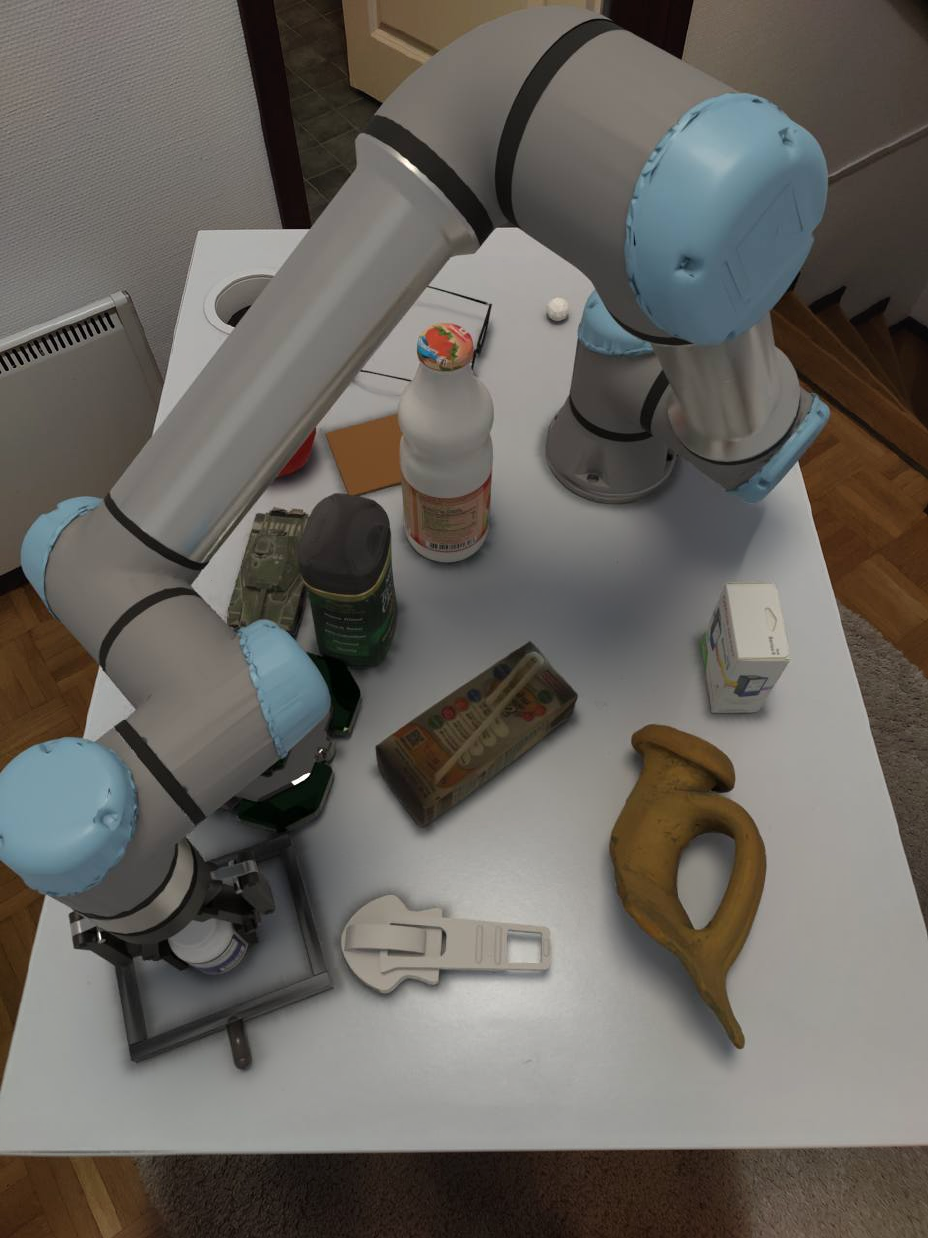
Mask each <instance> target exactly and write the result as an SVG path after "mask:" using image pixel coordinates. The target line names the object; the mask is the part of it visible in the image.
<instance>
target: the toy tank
mask: <svg viewBox="0 0 928 1238" xmlns="http://www.w3.org/2000/svg"><path fill="white" fill-rule="evenodd" d="M309 516H310V514H309V513H307V512H306V511H304V509H300V508H291V510H289V511H288V509H285V508H281V507H276V506H273V508H271V510H269V511H268V512H267V511H266V512H265V513H263V512H257V513H255V516H254V519H253V523H252V526H251V529H250V534H249V536H248V540H247V544H246V547H245V551H244V553H243V558H242V560H241V563H240V566H239V570H238V574H237V577H236V580H235V584H234V587H233V590H232V593H231V597H230V600H229V604H228V607H227V610H226V613H227V615H226V623H227V624H228V625H229V626H230V627H231V628H232V629H233V628H234V629H240V628H242V627H244V628H245V627H247V626H249V625H250V624H252V623H254V622H256V621H258V620H264V619H266V620H270V621H272V622H274V623H276V624H277V625H278V626H279V627H280V629H283V630H285V631H286V632H288V633H289V634H293V635H294V634H296V633H297V630H298V628H299V627H300V624H301V621H302V618H303V614H304V610H305V605H306V602H307V601H306V600H307V597H308V590H307V586H306V585H305V584H304V582H303V580H302V578H301V575H300V571H299V563H298V545H299V542H300V540H301V537H302V534H303V531H304V528H305V526H306V523H307V520H308V517H309Z"/></svg>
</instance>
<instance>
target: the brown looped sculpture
mask: <svg viewBox="0 0 928 1238" xmlns="http://www.w3.org/2000/svg"><path fill="white" fill-rule="evenodd" d="M630 739H631V740H630V743H631V744H630V745H631V747H632V748H633V749H634V752H636V753H637V754H638V755H639V756H640V757H641V758H643V761H642V768H641V771H640V774H639V777H638V779H637V780H636V783H635V784H634V787H633V788H632V790H631V792H630V793H629V795H628V797H626V799H625V804H624V806H623V807H622V809H621V811H620V813H619V816H618V817H617V819H616V821H615V822H614V825H613V827H612V829H611V833H610V837H609V843H608V844H609V845H608V851H609V855H610V860H611V863H612V866H613V878H614V883H615V891H616V895H617V897H618V898H619V901H620V902H621V905H622V908H623V910H624V911H625V913H627V915H629V917H630V918H631V919H633V920H634V922H635V923H636V925H637V926H638V928H640V929H641V930H642V931H643V932H644V933H645V934H646V935H648V936H649V937H650V938H652V939H653V940H655V941H656V942H657V943H658V944H660V945H661V946H662V947H663V948H665V949H667V950H668V951H669V952H670V953H671V954H672V955H673V956H675V957H677V958H678V960H679V961H680V963H681V964H682V966H683V967H684V969H685V970H686V972H687V973H688V974H689V976H690V978H691V980H692V982H693V984H694V986H695V988H696V990H697V992H698V995H700V997H701V1000H703V1002H704V1004H705V1005H706V1006H707V1007H708V1008H709V1009H710V1010H711V1012H712V1013H713V1014H714V1015H715V1017H716V1018H717V1020H718V1022H719V1023H720V1024H721V1026H722V1028H723V1029H724V1032H725V1033H726V1035H727V1037H728V1039H729V1040H730V1041H731V1043H732V1044H733V1046H734V1047H735V1048H736V1049H737V1050H742V1049H744V1047H745V1045H746V1038H745V1035H744V1033H743V1030H742V1027H741V1025H740V1024H739V1022H738V1020H737V1018H736V1015H735V1014H734V1011H733V1009H732V1006H731V1002H730V1000H729V996H728V992H727V975H728V972H729V971H730V969H731V968H732V967H733V965H734V964H735V962H736V961H737V959H738V957H739V956H740V955H741V953H742V950H743V948H744V947H745V944H746V942H747V939H748V937H749V935H750V932H751V930H752V927H753V925H754V921H755V919H756V917H757V913H758V910H759V907H760V904H761V900H762V896H763V893H764V888H765V882H766V876H767V869H768V868H767V867H768V866H767V865H768V864H767V853H766V846H765V842H764V839H763V837H762V835H761V833H760V830H759V827H758V826H757V824H756V822H755V820H754V818H753V817H752V816H751V815H750V813H749V812H748V811H747V810H746V809H745V808H744V807H743V806H742V805H741V804H740V803H737V802H736V801H735V800H733V799H730V798H729V797H726V796H724V795H719V794H726V793H731V791H733V790H734V789H735V785H736V771H735V767H734V764H733V761H732V760H731V758H729V756H728V755H727V754H726V753H725V752H724V751H723V750H721V749H720V748H719V747H717V746H716V745H714V744H712V743H711V742H709V741H708V740H705V739H703V738H702V737H699V736H697V735H695V734H691V733H688V732H687V731H683V730H679V729H677V728H675V727H673V726H670V725H665V724H657V723H651V724H647V725H644V726H643V727H642V728H640V729H638V730H636V731H634V732H633V733H632V735H631V738H630ZM711 792H712V793H711ZM713 792H714V793H713ZM716 793H717V794H716ZM706 834H721V835H724V836H726V837H729V838H730V839H732V840H733V841H734V859H733V864H732V869H731V873H730V876H729V880H728V882H727V885H726V888H725V891H724V894H723V896H722V899H721V901H720V904H719V905H718V908H717V910H716V911H715V914H713V917H712V918H711V919H710V920H709V922H708V923H707V924H706V925H705V926H704V927H702V928H700V929H696V928H695V927H694V925H693V923H692V920H691V919H690V916H689V915H688V913H687V911H686V909H685V908H684V906H683V904H682V902H681V900H680V897H679V893H678V892H679V891H678V873H679V872H678V870H679V865H680V859H681V856H682V853H683V852H684V851H685V849H687V847H688V846H689V844H690V843H691V842H692V841H693V840H695V839H697V838H698V837H700V836H703V835H706Z"/></svg>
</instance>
